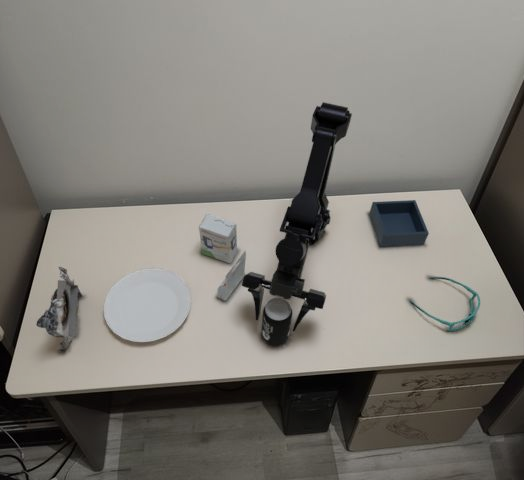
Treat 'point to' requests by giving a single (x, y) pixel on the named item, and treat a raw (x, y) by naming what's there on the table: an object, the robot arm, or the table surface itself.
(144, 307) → the plate
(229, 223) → the ink box
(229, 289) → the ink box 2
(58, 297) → the grey ornamental figurine
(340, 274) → the table surface
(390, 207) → the tub
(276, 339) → the beverage can
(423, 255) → the table surface
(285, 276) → the robot arm
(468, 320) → the sunglasses
